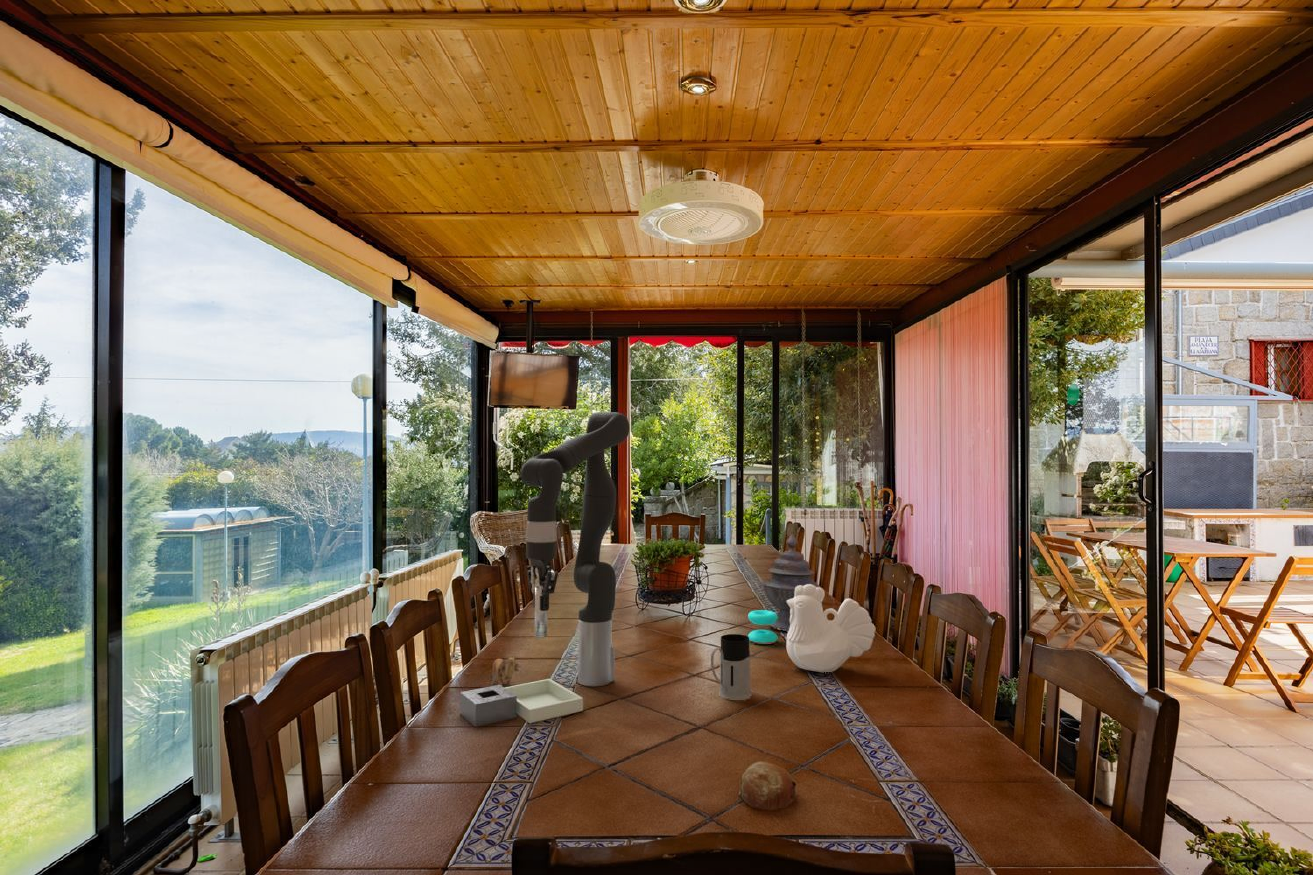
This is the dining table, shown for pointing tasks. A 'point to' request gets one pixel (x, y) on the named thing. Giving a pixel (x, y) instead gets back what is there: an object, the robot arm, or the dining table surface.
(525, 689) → the tray
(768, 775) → the bread roll
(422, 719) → the dining table surface
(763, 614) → the donuts
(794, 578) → the decorative urn
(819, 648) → the decorative rooster
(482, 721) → the block
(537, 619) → the steel pin
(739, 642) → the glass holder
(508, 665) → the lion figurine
